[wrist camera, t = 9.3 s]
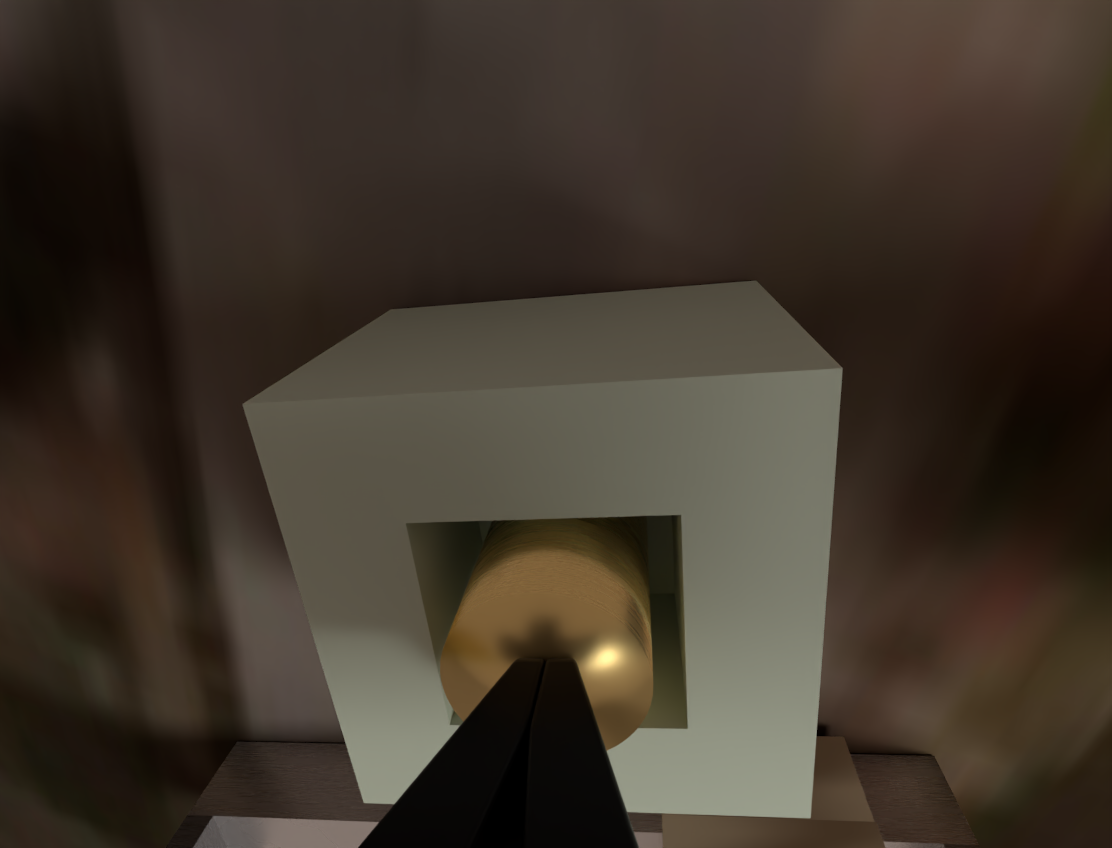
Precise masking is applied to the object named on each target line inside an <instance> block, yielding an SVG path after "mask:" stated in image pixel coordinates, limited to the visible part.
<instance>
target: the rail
mask: <svg viewBox="0 0 1112 848" xmlns="http://www.w3.org/2000/svg"><path fill="white" fill-rule="evenodd" d="M850 755H851V758H852V761H853V763H854V766H855V769H856V772H857V774H858V777H859V780H860V783H861V785H862V788H863V791H864V794H865V796H866V799H867V802H868V805H869V807H870V810H871V813H872V816H873V818H874V821H875V822H876V823H877V825H878V828H879V831H880V834H881V836H882V839H883V842H884V845H885V847H886V848H980V846H979V844H978V842H977V840H976V838H975V836H974V834H973V832H972V830H971V828H970V827H969V825H968V823H967V821H966V819H965V817H964V815H963V813H962V811H961V809H960V807H959V805H958V803H957V801H956V799H955V797H954V795H953V793H952V791H951V789H950V787H949V785H948V783H947V781H946V779H945V777H944V775H943V773H942V771H941V769H940V767H939V765H938V763H937V761H936V759H935V757H934V756H912V755H864V754H850ZM393 805H394V804H374V803H364V802H363V799H362V795H361V792H360V789H359V786H358V782H357V779H356V776H355V772H354V769H353V766H352V763H351V759H350V756H349V753H348V749H347V746H346V744H328V743H279V742H237V743H236V744H235V746H234V747H233V748H232V750H231V751H230V753H229V754H228V756H227V757H226V759H225V760H224V762H223V763H222V765H221V766H220V768H219V769H218V771H217V772H216V774H215V775H214V777H213V778H212V780H211V781H210V783H209V784H208V786H207V787H206V789H205V790H204V791H203V793H202V794H201V796H200V797H199V799H198V800H197V802H196V803H195V805H194V806H193V808H192V809H191V811H190V812H189V814H188V815H187V817H186V818H185V820H184V821H183V823H182V824H181V826H180V827H179V829H178V830H177V832H176V833H175V834H174V836H173V837H172V839H171V840H170V842H169V843H168V845H167V846H166V848H358V847H359V846H360V844H361V843H362V842H363V841H364V840H365V838H366V837H367V836H368V835H369V834H370V832H371V831H372V830H373V829H374V828H375V826H376V825H377V824H378V823H379V822H380V820H381V819H382V818H383V817H384V816H385V815H386V813H387V812H388V811H389V810H390V809H391V807H392V806H393ZM627 813H628V816H629V819H630V822H631V825H632V828H633V831H634V834H635V837H636V840H637V843H638V846H639V848H663V832H662V813H638V812H627Z"/></svg>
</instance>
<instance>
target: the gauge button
mask: <svg viewBox="0 0 1112 848" xmlns="http://www.w3.org/2000/svg"><path fill="white" fill-rule="evenodd" d="M518 658H542V659H544V660H545V661H547V660H548V659H550V658H573V659H575V660H576V662H577V664H578V667H579V670H580V673H581V676H582V679H583V682H584V685H585V688H586V691H587V694H588V697H589V700H590V703H591V706H592V709H593V712H594V715H595V718H596V721H597V724H598V727H599V730H600V733H601V736H602V739H603V741H604V744H605V747H606V750H609V749H611V748H613V747H615V746H617V745H619V744H620V743H622V742H623V741H625V740H626V739H627V738H628V737H629V736H631V735H632V734H633V733H634V732H635V731H636V730H637V728H638V727H639V726H640V725H641V724H642V722H643V720H644V719H645V717H646V715H647V713H648V711H649V708H650V706H651V701H652V697H653V662H652V637H651V611H650V586H649V560H648V535H647V518H646V516H626V517H593V518H560V519H527V520H494V521H492V522H491V525H490V528H489V530H488V533H487V535H486V538H485V541H484V543H483V546H482V548H481V551H480V554H479V556H478V559H477V561H476V564H475V567H474V569H473V572H472V574H471V577H470V580H469V582H468V585H467V587H466V590H465V593H464V595H463V598H462V600H461V603H460V606H459V608H458V611H457V613H456V616H455V619H454V621H453V624H452V626H451V629H450V632H449V634H448V637H447V639H446V642H445V645H444V647H443V650H442V654H441V659H440V676H441V682H442V686H443V689H444V692H445V695H446V697H447V699H448V701H449V703H450V705H451V706H452V708H453V709H454V711H455V712H456V714H457V715H458V716H459V717H460V718H461V719H462V721H463V722H464V720H465V719H466V718H467V717H468V716H469V714H470V713H471V712H472V711H473V710H474V708H475V707H476V706H477V705H478V704H479V702H480V701H481V700H482V699H483V698H484V696H485V695H486V694H487V693H488V692H489V690H490V689H491V688H492V687H493V686H494V685H495V683H496V682H497V681H498V680H499V679H500V677H501V676H502V675H503V674H504V673H505V671H506V670H507V669H508V668H509V667H510V665H511V664H512V663H513V662H514V661H515V660H517V659H518Z"/></svg>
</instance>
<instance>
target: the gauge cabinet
mask: <svg viewBox="0 0 1112 848" xmlns="http://www.w3.org/2000/svg"><path fill="white" fill-rule="evenodd" d="M842 371H843V368H842V367H841V366H840V365H839V364H838V363H837V362H836V361H835V360H834V359H833V358H832V357H831V356H830V355H829V354H828V353H827V352H826V351H825V350H824V349H823V348H822V347H821V346H820V345H819V344H818V343H817V342H816V341H815V340H814V339H813V338H812V337H811V336H810V335H809V334H808V333H807V332H806V331H805V330H804V329H803V328H802V327H801V325H800V324H799V323H798V322H797V321H796V320H795V319H794V318H793V317H792V316H791V315H790V314H789V313H788V312H787V311H786V310H785V309H784V308H783V307H782V306H781V305H780V304H779V303H778V302H777V301H776V300H775V299H774V298H773V297H772V296H771V295H770V294H769V293H768V292H767V291H766V290H765V289H764V288H763V287H762V286H761V285H760V284H759V283H758V282H757V281H743V282H731V283H718V284H706V285H693V286H680V287H668V288H655V289H643V290H630V291H617V292H605V293H592V294H580V295H567V296H554V297H542V298H529V299H517V300H504V301H491V302H479V303H466V304H454V305H441V306H428V307H416V308H403V309H391V310H389V311H388V312H386V313H384V314H383V315H381V316H380V317H378V318H377V319H375V320H373V321H372V322H370V323H369V324H367V325H366V326H364V327H362V328H361V329H359V330H358V331H356V332H355V333H353V334H351V335H350V336H348V337H347V338H345V339H344V340H342V341H341V342H339V343H337V344H336V345H334V346H333V347H331V348H330V349H328V350H326V351H325V352H323V353H322V354H320V355H319V356H317V357H315V358H314V359H312V360H311V361H309V362H308V363H306V364H304V365H303V366H301V367H300V368H298V369H297V370H295V371H293V372H292V373H290V374H289V375H287V376H286V377H284V378H282V379H281V380H279V381H278V382H276V383H275V384H273V385H271V386H270V387H268V388H267V389H265V390H264V391H262V392H260V393H259V394H257V395H256V396H254V397H253V398H251V399H249V400H248V401H246V402H245V403H243V404H242V405H243V408H244V411H245V415H246V418H247V421H248V424H249V428H250V431H251V434H252V438H253V441H254V444H255V447H256V451H257V454H258V457H259V461H260V464H261V467H262V470H263V474H264V477H265V480H266V484H267V487H268V490H269V493H270V497H271V500H272V503H273V507H274V510H275V513H276V516H277V520H278V523H279V526H280V530H281V533H282V536H283V539H284V543H285V546H286V549H287V552H288V556H289V559H290V562H291V566H292V569H293V572H294V575H295V579H296V582H297V585H298V589H299V592H300V595H301V598H302V602H303V605H304V608H305V612H306V615H307V618H308V621H309V625H310V628H311V631H312V635H313V638H314V641H315V644H316V648H317V651H318V654H319V658H320V661H321V664H322V667H323V671H324V674H325V677H326V680H327V684H328V687H329V690H330V694H331V697H332V700H333V703H334V707H335V710H336V713H337V717H338V720H339V723H340V726H341V730H342V733H343V736H344V740H345V743H346V746H347V749H348V753H349V756H350V759H351V763H352V766H353V769H354V772H355V776H356V779H357V782H358V786H359V789H360V792H361V795H362V799H363V802H364V803H374V804H395V803H396V801H397V800H398V799H399V798H400V797H401V795H402V794H403V793H404V792H405V791H406V789H407V788H408V787H409V786H410V785H411V784H412V782H413V781H414V780H415V779H416V778H417V776H418V775H419V774H420V773H421V772H422V770H423V769H424V768H425V767H426V766H427V764H428V763H429V762H430V761H431V760H432V758H433V757H434V756H435V755H436V754H437V753H438V751H439V750H440V749H441V748H442V747H443V745H444V744H445V743H446V742H447V741H448V739H449V738H450V737H451V736H452V735H453V733H454V732H455V731H456V730H457V729H458V727H459V726H460V725H461V724H462V723H463V721H462V719H461V718H460V717H459V716H458V715H457V714H456V712H455V711H454V709H453V708H452V706H451V705H450V703H449V701H448V699H447V697H446V695H445V692H444V689H443V686H442V682H441V676H440V659H441V654H442V650H443V647H444V645H445V642H446V639H447V637H448V634H449V632H450V629H451V626H452V624H453V621H454V619H455V616H456V613H457V611H458V608H459V606H460V603H461V600H462V598H463V595H464V593H465V590H466V587H467V585H468V582H469V580H470V577H471V574H472V572H473V569H474V567H475V564H476V561H477V559H478V556H479V554H480V551H481V548H482V546H483V543H484V541H485V538H486V535H487V533H488V530H489V528H490V525H491V522H492V521H494V520H527V519H560V518H593V517H626V516H646V518H647V535H648V560H649V586H650V611H651V637H652V662H653V697H652V701H651V706H650V708H649V711H648V713H647V715H646V717H645V719H644V720H643V722H642V724H641V725H640V726H639V727H638V728H637V730H636V731H635V732H634V733H633V734H632V735H631V736H629V737H628V738H627V739H626V740H625V741H623V742H622V743H620V744H619V745H617V746H615V747H613V748H611V749H609V750H607V753H608V756H609V759H610V762H611V765H612V768H613V771H614V774H615V777H616V780H617V783H618V786H619V789H620V792H621V795H622V798H623V801H624V804H625V807H626V810H627V812H638V813H667V814H697V815H726V816H755V817H784V818H811V805H812V791H813V777H814V763H815V749H816V735H817V721H818V707H819V693H820V679H821V665H822V651H823V637H824V623H825V609H826V595H827V581H828V567H829V553H830V539H831V525H832V511H833V497H834V483H835V469H836V455H837V441H838V427H839V413H840V399H841V385H842Z"/></svg>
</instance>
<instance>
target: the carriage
mask: <svg viewBox="0 0 1112 848" xmlns="http://www.w3.org/2000/svg"><path fill="white" fill-rule="evenodd" d="M662 832H663V848H886V847H885V845H884V842H883V839H882V836H881V834H880V831H879V828H878V825H877V823H876V822H875V821H874V818H873V816H872V813H871V810H870V807H869V805H868V802H867V799H866V796H865V794H864V791H863V788H862V785H861V783H860V780H859V777H858V774H857V772H856V769H855V766H854V763H853V761H852V758H851V755H850V752H849V750H848V747H847V744H846V741H845V739H844V737H832V736H816V749H815V763H814V777H813V791H812V805H811V818H784V817H755V816H726V815H697V814H667V813H662Z"/></svg>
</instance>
